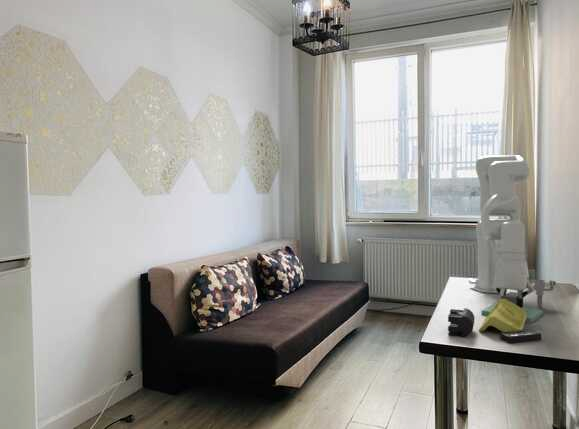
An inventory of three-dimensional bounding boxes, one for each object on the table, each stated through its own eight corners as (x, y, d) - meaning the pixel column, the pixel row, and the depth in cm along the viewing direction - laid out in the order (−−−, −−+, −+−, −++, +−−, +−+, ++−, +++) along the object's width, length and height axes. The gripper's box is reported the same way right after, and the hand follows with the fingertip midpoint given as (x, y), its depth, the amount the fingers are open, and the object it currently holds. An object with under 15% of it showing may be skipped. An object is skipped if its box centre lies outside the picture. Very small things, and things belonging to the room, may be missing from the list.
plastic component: (521, 331, 129) (488, 313, 133) (509, 351, 131) (477, 332, 136) (528, 311, 145) (498, 295, 150) (517, 329, 148) (488, 312, 152)
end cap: (473, 339, 130) (473, 316, 129) (447, 336, 133) (447, 314, 132) (474, 329, 139) (474, 308, 138) (450, 327, 142) (450, 306, 141)
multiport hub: (499, 340, 129) (499, 332, 129) (530, 336, 132) (530, 329, 132) (510, 345, 125) (510, 337, 125) (542, 341, 128) (542, 333, 128)
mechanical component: (556, 307, 163) (556, 281, 163) (526, 306, 165) (526, 280, 165) (552, 305, 166) (553, 279, 166) (523, 304, 168) (524, 279, 168)
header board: (481, 314, 155) (481, 300, 155) (495, 307, 165) (495, 293, 165) (530, 323, 144) (531, 308, 144) (542, 314, 154) (542, 300, 154)
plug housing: (502, 311, 153) (502, 295, 153) (510, 306, 159) (510, 291, 159) (515, 313, 151) (515, 297, 150) (522, 308, 156) (522, 293, 156)
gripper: (483, 255, 157) (483, 306, 157) (535, 259, 145) (535, 314, 146) (491, 253, 162) (491, 302, 163) (542, 257, 151) (541, 310, 151)
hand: (512, 307), depth 154 cm, fingers closed on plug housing, 4 cm apart
